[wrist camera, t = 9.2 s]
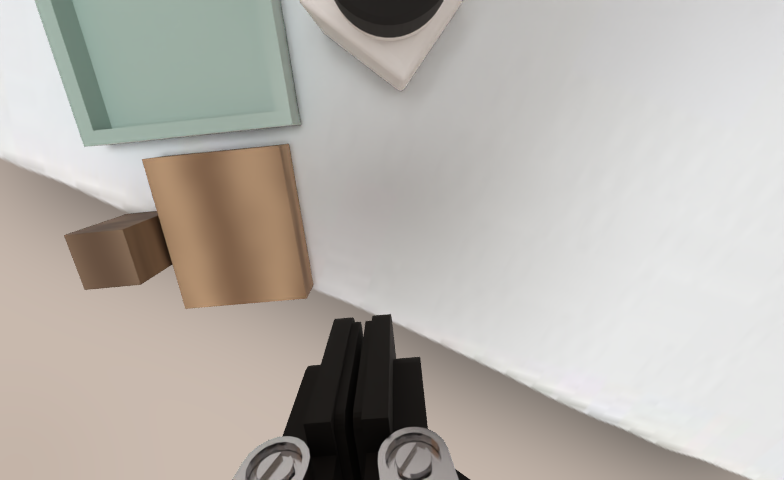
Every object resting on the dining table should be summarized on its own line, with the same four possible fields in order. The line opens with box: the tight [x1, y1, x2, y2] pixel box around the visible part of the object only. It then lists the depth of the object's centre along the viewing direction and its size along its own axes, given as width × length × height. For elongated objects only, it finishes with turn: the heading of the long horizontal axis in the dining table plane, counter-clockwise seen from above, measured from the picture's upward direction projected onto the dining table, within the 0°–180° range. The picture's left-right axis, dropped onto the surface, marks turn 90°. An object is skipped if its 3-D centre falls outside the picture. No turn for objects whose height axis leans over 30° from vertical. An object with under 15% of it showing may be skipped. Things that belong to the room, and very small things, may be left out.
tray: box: [35, 0, 301, 147], centre depth 25 cm, size 15×15×2 cm
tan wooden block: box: [142, 144, 313, 309], centre depth 30 cm, size 10×12×3 cm
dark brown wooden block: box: [64, 211, 172, 290], centre depth 28 cm, size 4×4×6 cm
